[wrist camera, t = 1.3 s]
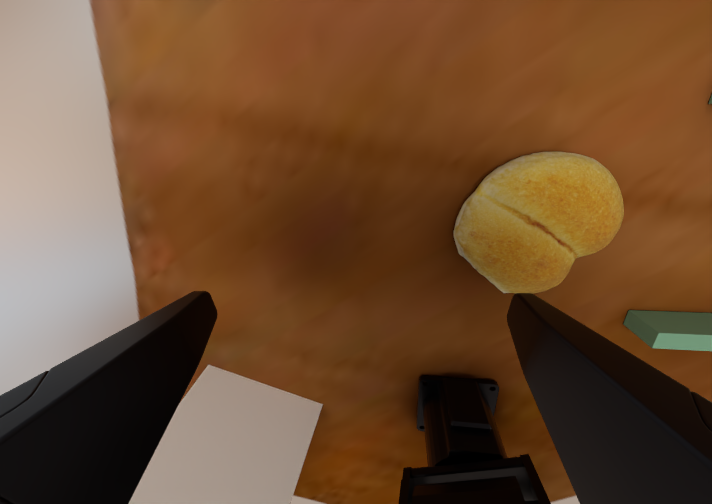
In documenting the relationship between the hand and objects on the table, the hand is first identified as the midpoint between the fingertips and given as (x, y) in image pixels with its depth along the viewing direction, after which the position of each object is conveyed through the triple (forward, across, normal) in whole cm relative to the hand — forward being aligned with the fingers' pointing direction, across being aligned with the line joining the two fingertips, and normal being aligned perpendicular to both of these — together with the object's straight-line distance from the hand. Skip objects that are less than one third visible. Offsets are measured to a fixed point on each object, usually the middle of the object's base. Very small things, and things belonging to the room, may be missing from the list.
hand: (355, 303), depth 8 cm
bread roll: (+12, -10, +3) cm, 16 cm away
